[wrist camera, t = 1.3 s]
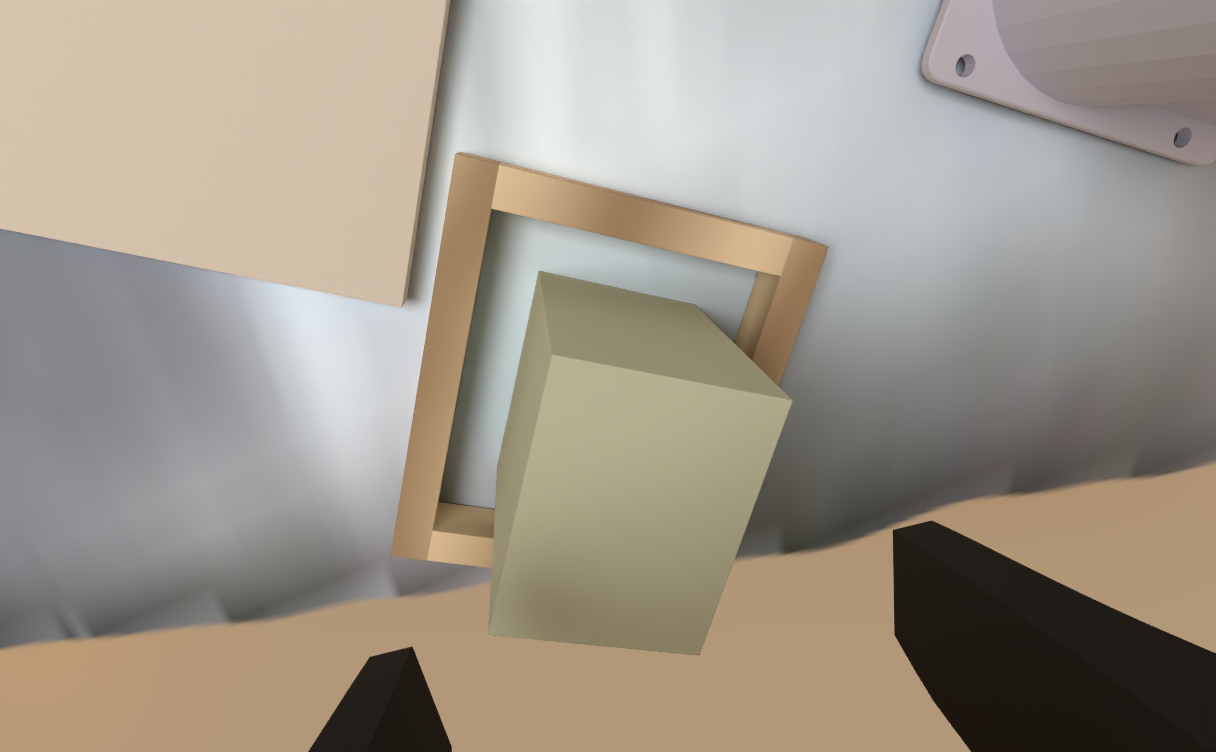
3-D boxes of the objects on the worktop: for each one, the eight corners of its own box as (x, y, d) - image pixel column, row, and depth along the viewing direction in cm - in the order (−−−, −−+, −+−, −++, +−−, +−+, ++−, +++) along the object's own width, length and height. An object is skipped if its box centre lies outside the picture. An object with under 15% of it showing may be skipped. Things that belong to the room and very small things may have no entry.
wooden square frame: (804, 237, 18) (828, 246, 16) (693, 563, 21) (705, 593, 20) (460, 151, 16) (454, 153, 15) (399, 525, 19) (390, 556, 18)
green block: (694, 304, 18) (792, 400, 12) (640, 486, 20) (699, 655, 14) (538, 270, 17) (551, 354, 11) (497, 464, 19) (488, 635, 13)
